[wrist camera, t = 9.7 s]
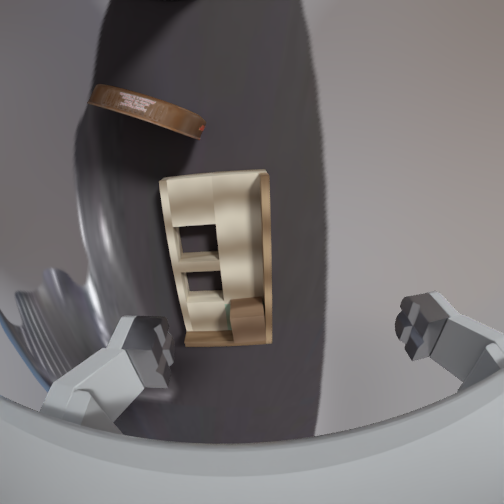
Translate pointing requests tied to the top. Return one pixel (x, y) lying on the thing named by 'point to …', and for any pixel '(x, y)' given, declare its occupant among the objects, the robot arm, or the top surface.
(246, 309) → the walnut block
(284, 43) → the top surface
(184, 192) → the board
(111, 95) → the tin
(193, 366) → the top surface
